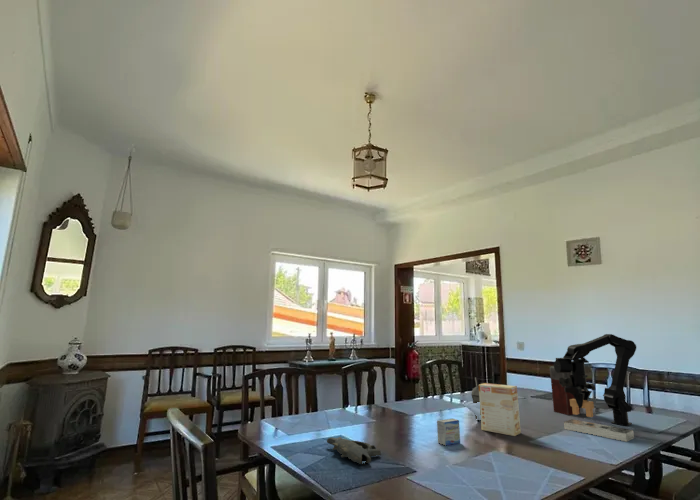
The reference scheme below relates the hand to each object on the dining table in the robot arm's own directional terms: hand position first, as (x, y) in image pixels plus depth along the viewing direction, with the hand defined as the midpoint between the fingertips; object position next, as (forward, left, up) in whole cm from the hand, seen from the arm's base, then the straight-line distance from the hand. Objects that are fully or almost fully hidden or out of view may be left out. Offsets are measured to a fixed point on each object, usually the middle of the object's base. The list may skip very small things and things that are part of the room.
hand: (582, 407), depth 182 cm
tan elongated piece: (+109, -32, -8) cm, 114 cm away
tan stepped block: (0, 0, -4) cm, 4 cm away
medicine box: (+72, -20, -8) cm, 75 cm away
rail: (+11, +10, -8) cm, 17 cm away
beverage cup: (+30, -35, -8) cm, 47 cm away
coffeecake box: (+41, -17, -8) cm, 45 cm away
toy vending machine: (-20, -16, -8) cm, 27 cm away
